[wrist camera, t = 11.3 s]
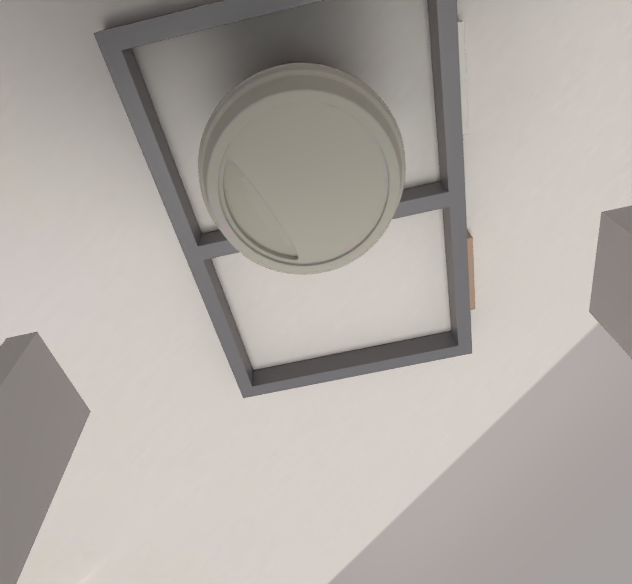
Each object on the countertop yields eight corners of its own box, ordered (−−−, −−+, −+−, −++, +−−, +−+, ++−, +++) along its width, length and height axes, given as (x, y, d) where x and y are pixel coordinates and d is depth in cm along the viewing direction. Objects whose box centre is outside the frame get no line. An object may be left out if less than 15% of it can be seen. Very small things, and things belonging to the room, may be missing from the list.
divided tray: (104, 29, 26) (93, 33, 24) (455, -59, 25) (466, -61, 23) (244, 382, 40) (243, 398, 38) (472, 336, 39) (480, 351, 37)
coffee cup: (218, 31, 26) (178, 67, 16) (376, 37, 27) (432, 76, 17) (227, 184, 31) (201, 286, 21) (362, 186, 31) (399, 286, 21)
